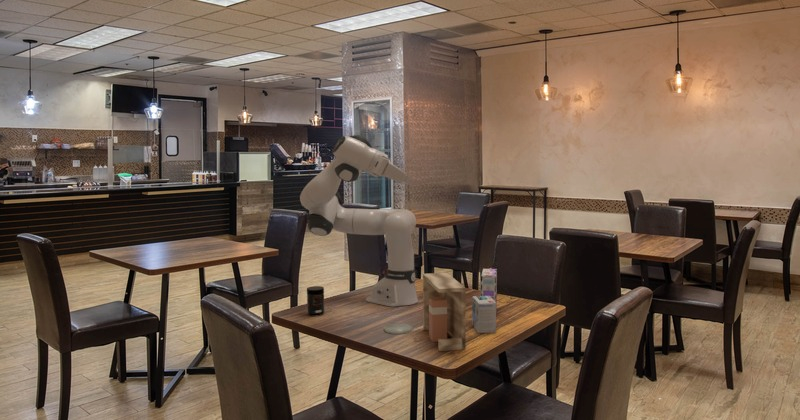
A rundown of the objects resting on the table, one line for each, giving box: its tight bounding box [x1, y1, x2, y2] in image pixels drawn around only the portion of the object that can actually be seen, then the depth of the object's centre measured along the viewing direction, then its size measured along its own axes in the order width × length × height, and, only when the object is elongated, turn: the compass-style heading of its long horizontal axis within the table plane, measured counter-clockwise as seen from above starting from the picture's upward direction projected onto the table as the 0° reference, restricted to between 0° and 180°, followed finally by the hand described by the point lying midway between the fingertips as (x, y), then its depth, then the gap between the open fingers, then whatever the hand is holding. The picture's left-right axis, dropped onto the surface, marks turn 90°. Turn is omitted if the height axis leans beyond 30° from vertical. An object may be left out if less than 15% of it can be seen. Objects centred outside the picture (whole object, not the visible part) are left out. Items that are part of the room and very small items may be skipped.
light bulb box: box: [471, 295, 497, 334], centre depth 204 cm, size 11×7×11 cm, turn 5°
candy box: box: [480, 268, 498, 310], centre depth 224 cm, size 14×6×16 cm, turn 168°
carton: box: [428, 297, 448, 343], centre depth 193 cm, size 5×5×14 cm
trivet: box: [383, 323, 413, 335], centre depth 204 cm, size 10×10×1 cm
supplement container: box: [306, 285, 325, 316], centre depth 225 cm, size 7×7×10 cm
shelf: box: [422, 272, 467, 352], centre depth 193 cm, size 9×23×20 cm, turn 10°
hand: (412, 181), depth 203 cm, fingers open, 8 cm apart
